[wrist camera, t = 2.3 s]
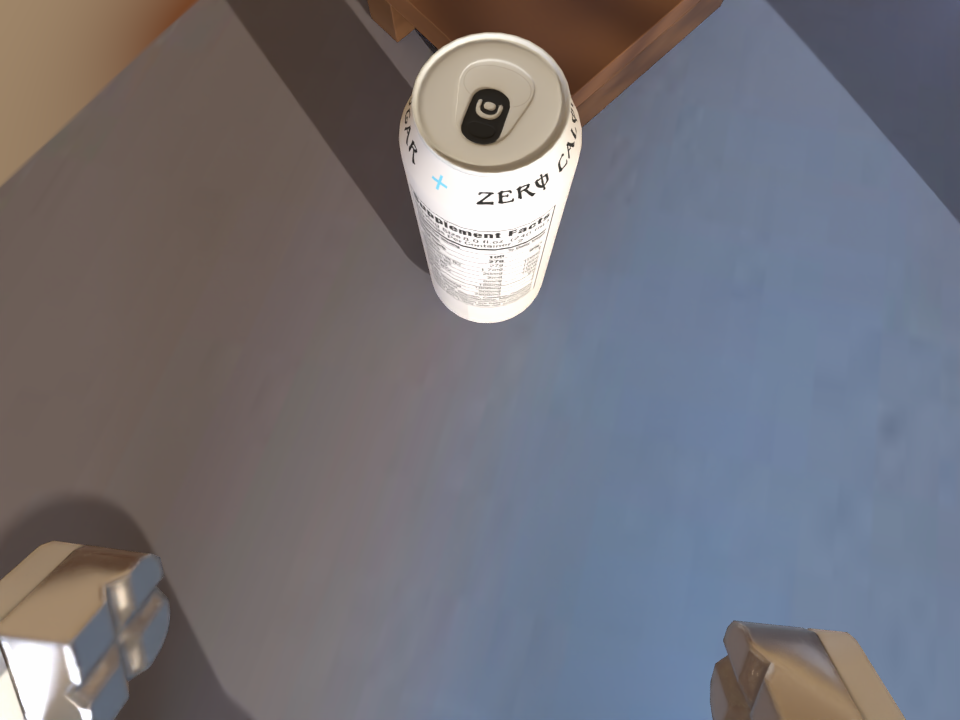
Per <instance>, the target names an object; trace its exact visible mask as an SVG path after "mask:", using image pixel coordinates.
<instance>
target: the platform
mask: <svg viewBox="0 0 960 720" xmlns="http://www.w3.org/2000/svg"><path fill="white" fill-rule="evenodd" d="M367 1H368V5H369V9H370V13H371V18H372V19H373V20H374V21H375V22H376V23H377V24H378V25H379V26H380V27H381V28H383V29H384V30H385V31H386V32H387V33H388V34H389V35H390V36H391V37H392V38H393V39H394V40H395V41H396V42H399V41H400V40H401V39H403V38H404V37H405V36H406V35H408V34H409V33H410V32H411V31H413V30H414V29H415V28H416V29H417V30H418V31H419V32H420V33H421V34H423V35H424V36H425V37H426V38H427V39H428V40H429V41H430V42H431V43H432V44H433V45H434V46H435V47H436V48H438V49H441V48H442V47H443V46H445V45H447V44H448V43H450V42H452V41H454V40H456V39H458V38H461V37H465V36H468V35H471V34H477V33H484V32H494V33H505V34H510V35H515V36H518V37H521V38H523V39H526V40H528V41H531V42H532V43H534V44H535V45H537V46H539V47H540V48H542V49H543V50H544V51H545V52H547V53H548V54H549V55H550V56H551V57H552V58H553V59H554V60H555V62H556V63H557V64H558V66H559V67H560V68H561V70H562V72H563V74H564V76H565V78H566V80H567V82H568V86H569V91H570V95H571V98H572V101H573V103H574V105H575V107H576V109H577V112H578V115H579V119H580V124H581V128H582V127H583V126H584V125H585V124H586V123H588V122H589V121H590V120H591V119H592V118H593V117H594V116H596V115H597V114H598V113H599V112H600V111H601V110H602V109H604V108H605V107H606V106H607V105H608V104H609V103H610V102H612V101H613V100H614V99H615V98H616V97H617V96H618V95H619V94H621V93H622V92H623V91H624V90H625V89H626V88H627V87H629V86H630V85H631V84H632V83H633V82H634V81H635V80H637V79H638V78H639V77H640V76H641V75H642V74H643V73H645V72H646V71H647V70H648V69H649V68H650V67H651V66H653V65H654V64H655V63H656V62H657V61H658V60H659V59H661V58H662V57H663V56H664V55H665V54H666V53H667V52H669V51H670V50H671V49H672V48H673V47H674V46H675V45H677V44H678V43H679V42H680V41H681V40H682V39H683V38H685V37H686V36H687V35H688V34H689V33H690V32H691V31H693V30H694V29H695V28H696V27H697V26H698V25H699V24H700V23H702V22H703V21H704V20H705V19H706V18H707V17H708V16H710V15H711V14H712V13H713V12H714V11H715V10H716V9H718V8H719V7H720V6H721V4H722V2H723V0H367Z"/></svg>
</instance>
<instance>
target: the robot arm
mask: <svg viewBox="0 0 960 720" xmlns="http://www.w3.org/2000/svg"><path fill="white" fill-rule="evenodd" d="M163 576H164V572H163V568H162V564H161V560H160V557H158V556H155V555H153V554H148V553H141V552H134V551H127V550H120V549H113V548H106V547H99V546H92V545H79V544H72V543H66V542H59V541H51V542H49V543H46V544H43V545H40V546H39V547H38V548H37V549H35V550H34V551H33V552H32V553H31V554H30V555H29V556H28V557H26V558H25V559H24V560H23V561H22V562H21V563H20V564H19V565H17V566H16V567H15V568H14V569H13V570H12V571H11V572H10V573H8V574H7V575H6V576H5V577H4V578H3V579H2V580H1V581H0V720H114V719H115V718H116V716H117V715H118V713H119V712H120V710H121V709H122V707H123V706H124V704H125V703H126V701H127V700H128V698H129V686H128V681H130V680H131V679H133V678H134V677H136V676H138V675H139V674H141V673H142V672H144V671H145V670H147V669H149V667H150V666H151V664H152V663H153V661H154V660H155V658H156V657H157V655H158V654H159V652H160V650H161V648H162V646H163V643H164V640H165V637H166V635H167V632H168V629H169V622H170V606H169V600H168V598H167V597H166V596H165V595H164V594H163V593H162V592H161V591H160V590H159V589H158V587H157V586H156V585H157V584H158V583H159V581H160V580H161V579H162V577H163ZM723 642H724V645H725V648H726V650H727V653H728V655H727V656H726V657H724V658H723V659H721V660H720V661H719V662H717V663H716V664H715V667H714V671H713V674H712V678H711V683H710V705H711V711H712V718H713V720H906V719H905V717H904V716H903V714H902V713H901V711H900V709H899V708H898V706H897V705H896V703H895V701H894V700H893V698H892V697H891V695H890V693H889V692H888V690H887V688H886V687H885V685H884V684H883V682H882V680H881V679H880V677H879V676H878V674H877V672H876V671H875V669H874V668H873V666H872V664H871V663H870V661H869V660H868V658H867V656H866V655H865V653H864V652H863V650H862V648H861V647H860V645H859V644H858V642H857V641H856V639H855V638H854V637H852V636H851V635H850V634H849V633H847V632H840V631H830V630H820V629H811V628H809V629H805V628H801V627H791V626H781V625H772V624H762V623H753V622H743V621H733V622H732V623H731V624H730V625H729V626H728V628H727V630H726V633H725V636H724V639H723Z"/></svg>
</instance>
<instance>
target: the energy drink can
mask: <svg viewBox="0 0 960 720" xmlns="http://www.w3.org/2000/svg"><path fill="white" fill-rule="evenodd" d="M399 144H400V150H401V156H402V160H403V165H404V169H405V173H406V177H407V181H408V185H409V189H410V193H411V197H412V201H413V206H414V210H415V214H416V218H417V222H418V226H419V230H420V234H421V238H422V242H423V246H424V251H425V255H426V259H427V263H428V267H429V271H430V275H431V279H432V283H433V286H434V288H435V291H436V293H437V295H438V296H439V298H440V299H441V301H442V302H443V303H444V304H445V305H446V306H447V307H448V308H449V309H450V310H451V311H452V312H454V313H455V314H457V315H458V316H460V317H463V318H465V319H467V320H470V321H475V322H479V323H494V322H500V321H504V320H507V319H510V318H512V317H514V316H516V315H518V314H519V313H521V312H522V311H524V310H525V309H526V308H527V307H528V306H529V305H530V304H531V303H532V301H533V300H534V299H535V297H536V296H537V294H538V292H539V290H540V287H541V285H542V281H543V278H544V275H545V271H546V268H547V264H548V261H549V258H550V254H551V251H552V248H553V244H554V241H555V237H556V234H557V231H558V227H559V224H560V220H561V217H562V214H563V210H564V207H565V203H566V200H567V197H568V193H569V190H570V186H571V183H572V180H573V176H574V173H575V170H576V166H577V163H578V159H579V154H580V150H581V145H582V128H581V124H580V119H579V115H578V112H577V109H576V107H575V105H574V103H573V101H572V98H571V95H570V91H569V86H568V82H567V80H566V78H565V76H564V74H563V72H562V70H561V68H560V67H559V66H558V64H557V63H556V62H555V60H554V59H553V58H552V57H551V56H550V55H549V54H548V53H547V52H545V51H544V50H543V49H542V48H540V47H539V46H537V45H535V44H534V43H532V42H531V41H528V40H526V39H523V38H521V37H518V36H515V35H510V34H505V33H494V32H484V33H477V34H471V35H468V36H465V37H461V38H458V39H456V40H454V41H452V42H450V43H448V44H447V45H445V46H443V47H442V48H441V49H439V50H438V51H437V52H436V53H434V54H433V55H432V56H431V57H430V58H429V60H428V61H427V62H426V63H425V64H424V66H423V67H422V69H421V71H420V72H419V74H418V76H417V78H416V81H415V84H414V88H413V91H412V95H411V97H410V99H409V101H408V102H407V104H406V106H405V108H404V111H403V115H402V118H401V122H400V130H399Z"/></svg>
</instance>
